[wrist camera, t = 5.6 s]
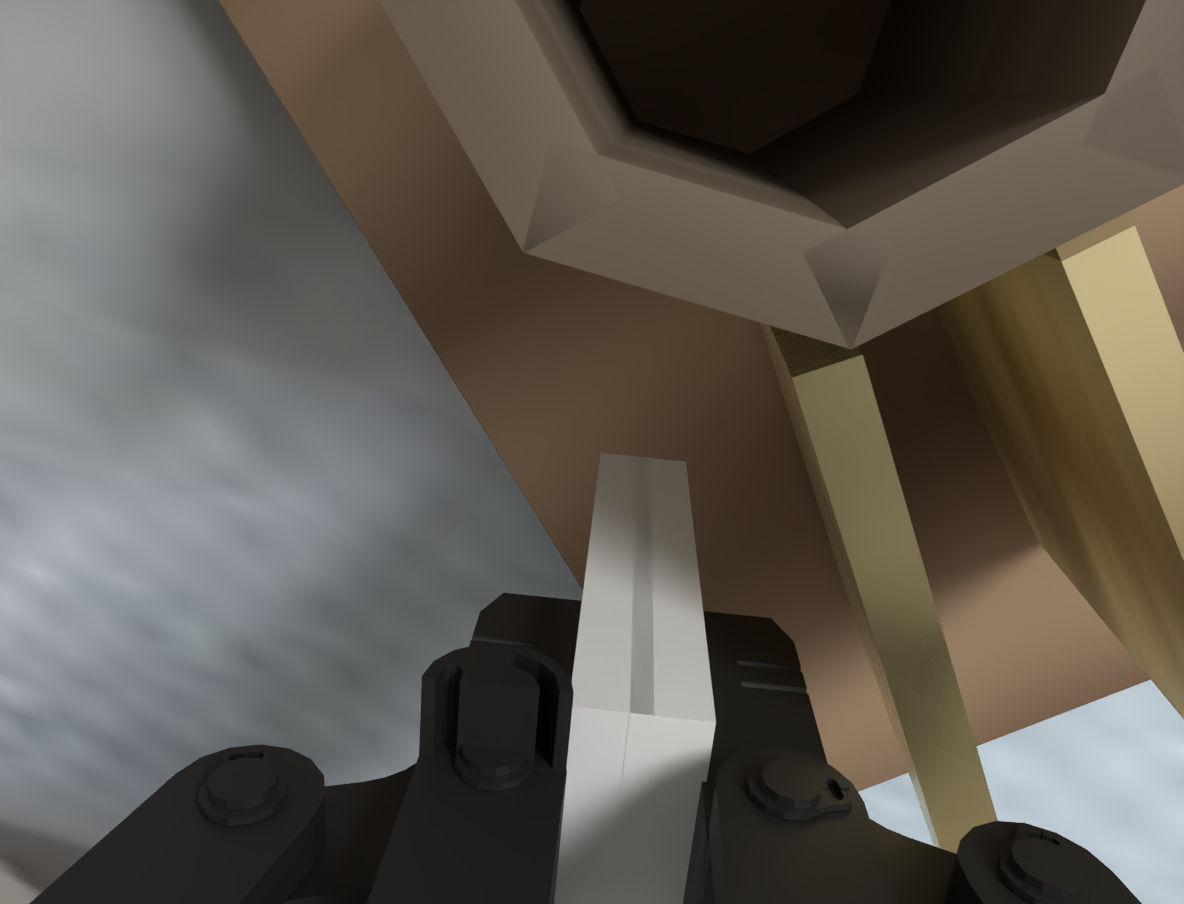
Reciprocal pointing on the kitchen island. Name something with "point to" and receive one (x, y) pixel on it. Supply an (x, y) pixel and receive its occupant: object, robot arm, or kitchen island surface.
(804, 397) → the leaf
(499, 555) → the kitchen island surface
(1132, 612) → the jig
